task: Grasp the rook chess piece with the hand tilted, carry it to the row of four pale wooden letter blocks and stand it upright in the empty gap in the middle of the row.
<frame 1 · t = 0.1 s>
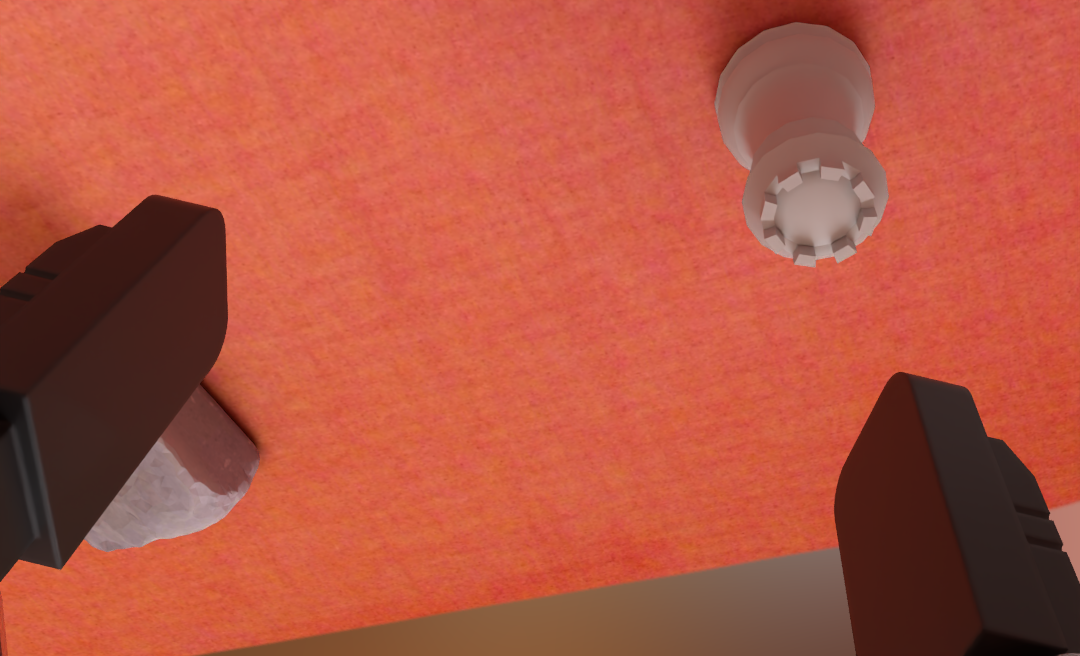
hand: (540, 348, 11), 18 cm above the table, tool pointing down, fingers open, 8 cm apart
stone block: (108, 394, 39), on the table
rook chess piece: (790, 91, 27), on the table
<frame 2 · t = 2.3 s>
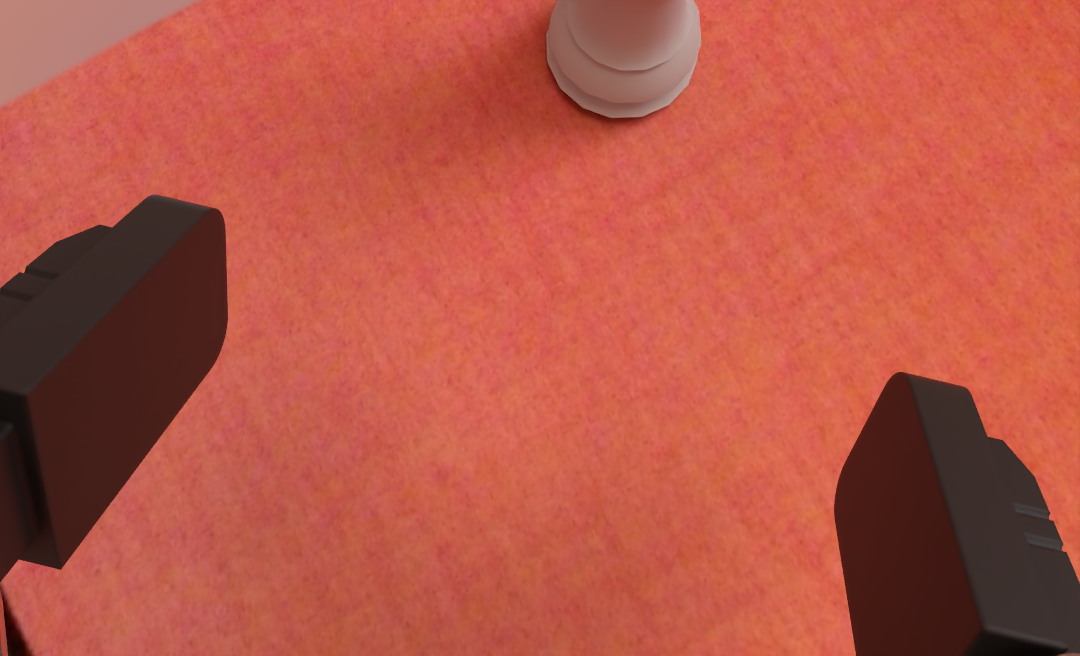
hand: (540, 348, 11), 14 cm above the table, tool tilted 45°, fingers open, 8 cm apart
rook chess piece: (619, 57, 27), on the table
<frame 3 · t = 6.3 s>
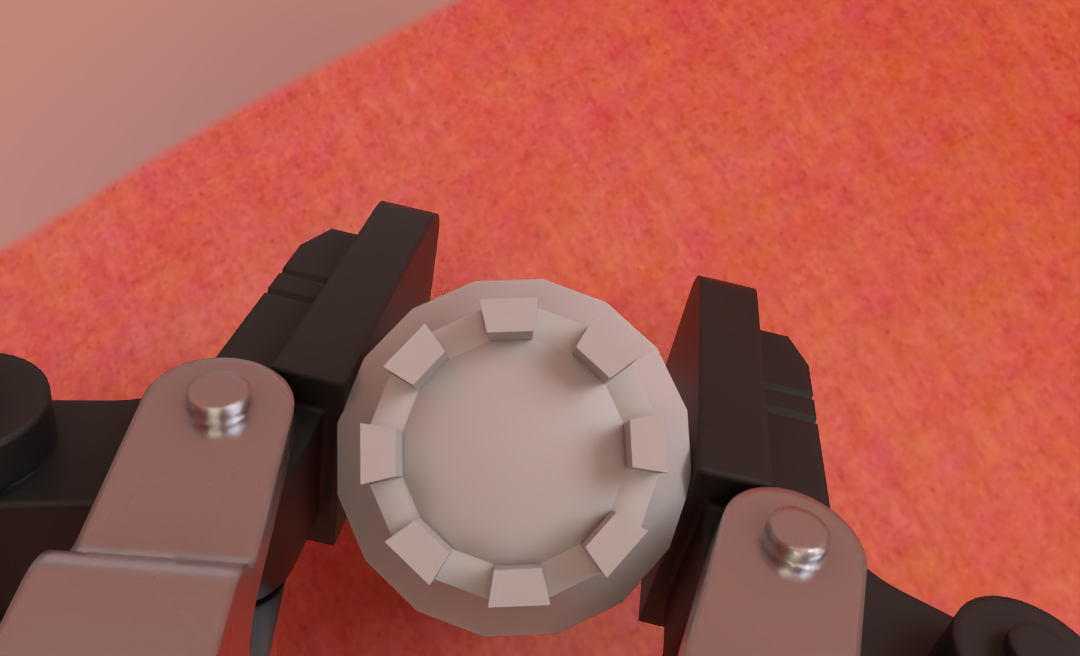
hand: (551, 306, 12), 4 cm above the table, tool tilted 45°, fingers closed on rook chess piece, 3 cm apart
rook chess piece: (516, 466, 15), on the table, touching gripper
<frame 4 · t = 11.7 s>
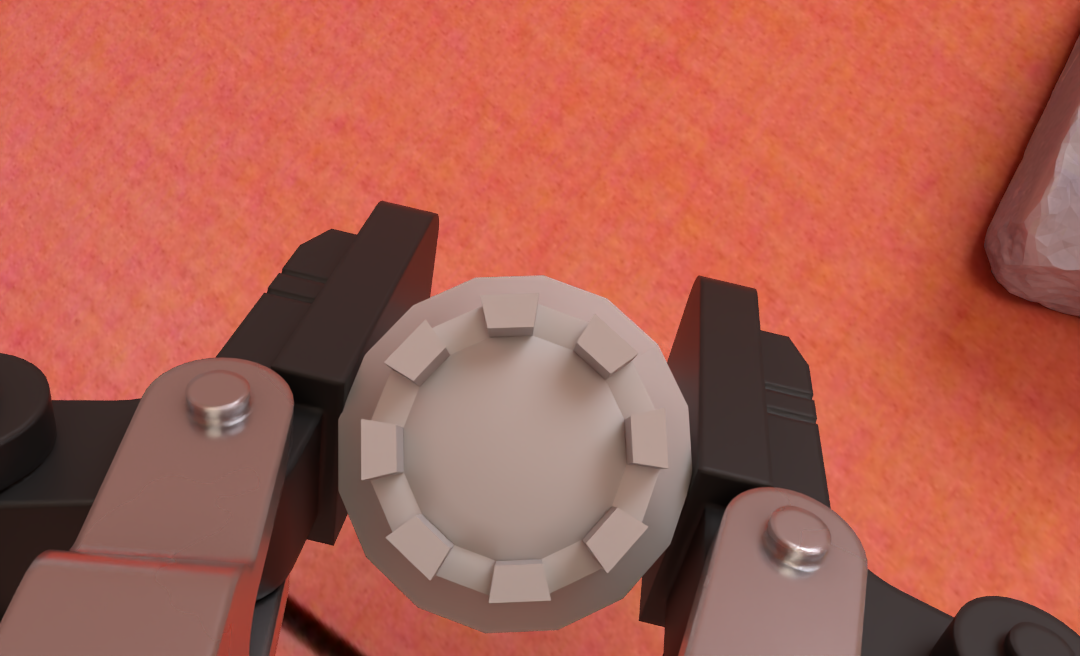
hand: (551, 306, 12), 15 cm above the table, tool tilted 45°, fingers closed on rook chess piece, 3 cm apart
rook chess piece: (518, 465, 15), point 10 cm above the table, touching gripper
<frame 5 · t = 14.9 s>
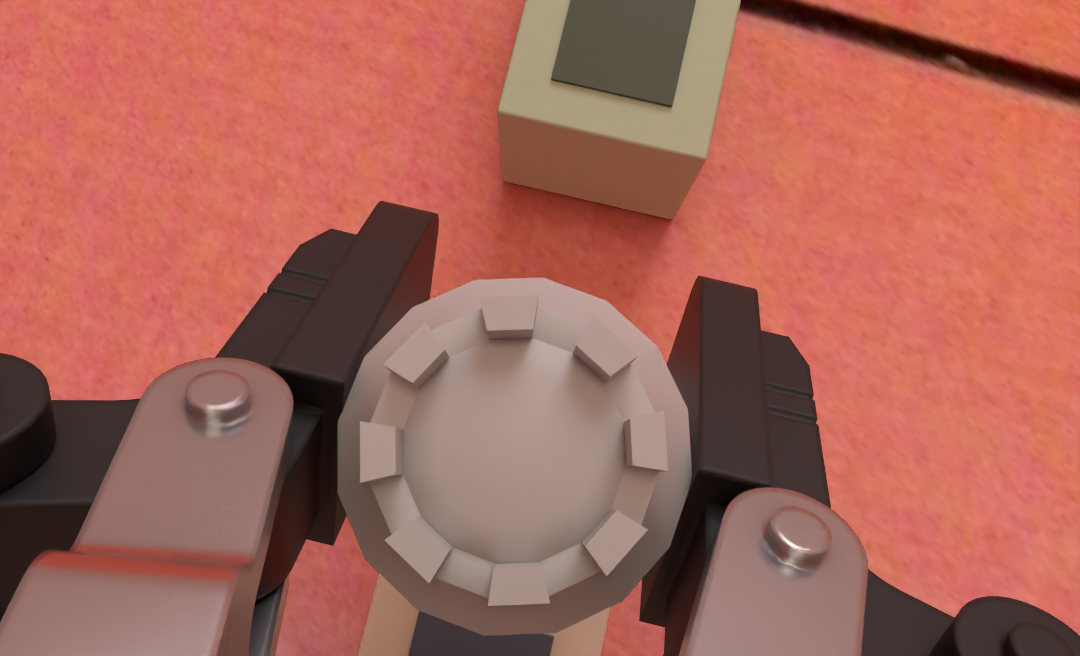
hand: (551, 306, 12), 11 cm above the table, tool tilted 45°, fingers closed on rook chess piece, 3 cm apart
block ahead: (606, 120, 24), on the table
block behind: (482, 646, 22), on the table
rook chess piece: (518, 466, 15), point 7 cm above the table, touching gripper
when the fingers open (4 cm above the table, at t = 17.2 s): rook chess piece stays where it is, on the table.
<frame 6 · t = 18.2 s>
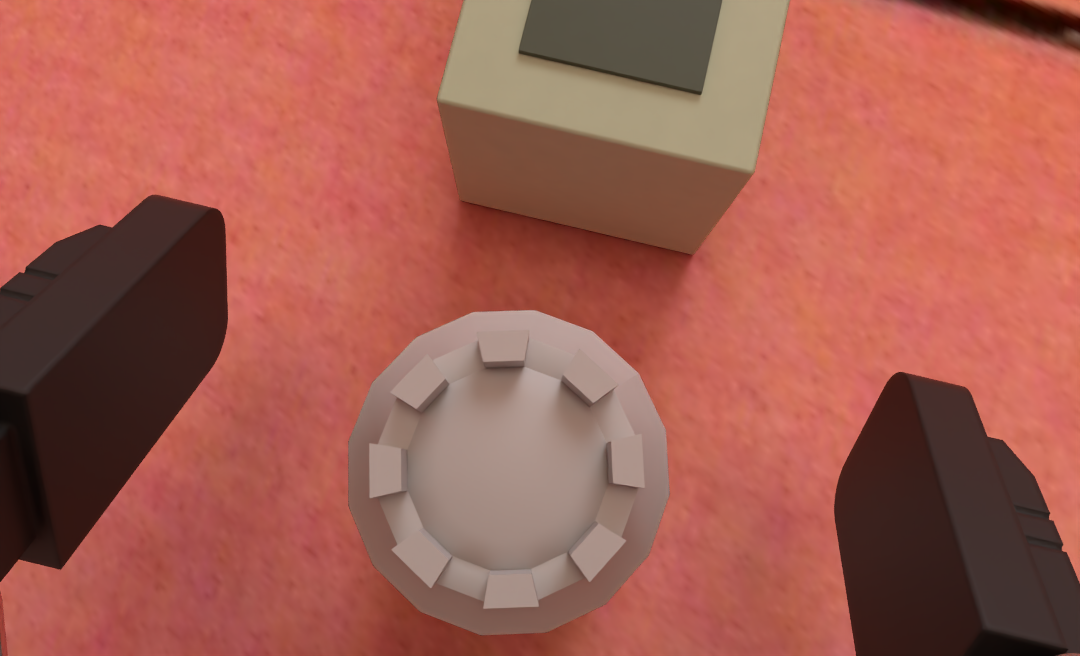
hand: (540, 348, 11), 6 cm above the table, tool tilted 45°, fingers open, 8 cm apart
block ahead: (602, 117, 17), on the table
rook chess piece: (515, 475, 16), on the table
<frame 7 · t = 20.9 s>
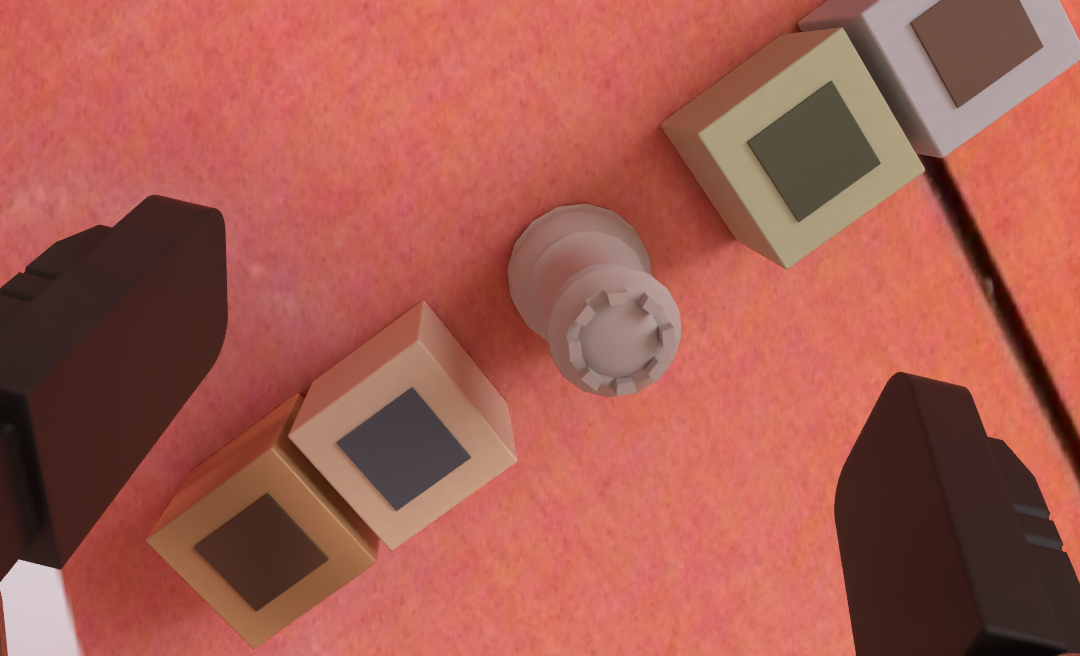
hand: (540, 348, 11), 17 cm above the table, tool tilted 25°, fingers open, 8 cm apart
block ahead: (758, 140, 28), on the table
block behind: (411, 393, 29), on the table
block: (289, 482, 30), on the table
rook chess piece: (576, 270, 29), on the table
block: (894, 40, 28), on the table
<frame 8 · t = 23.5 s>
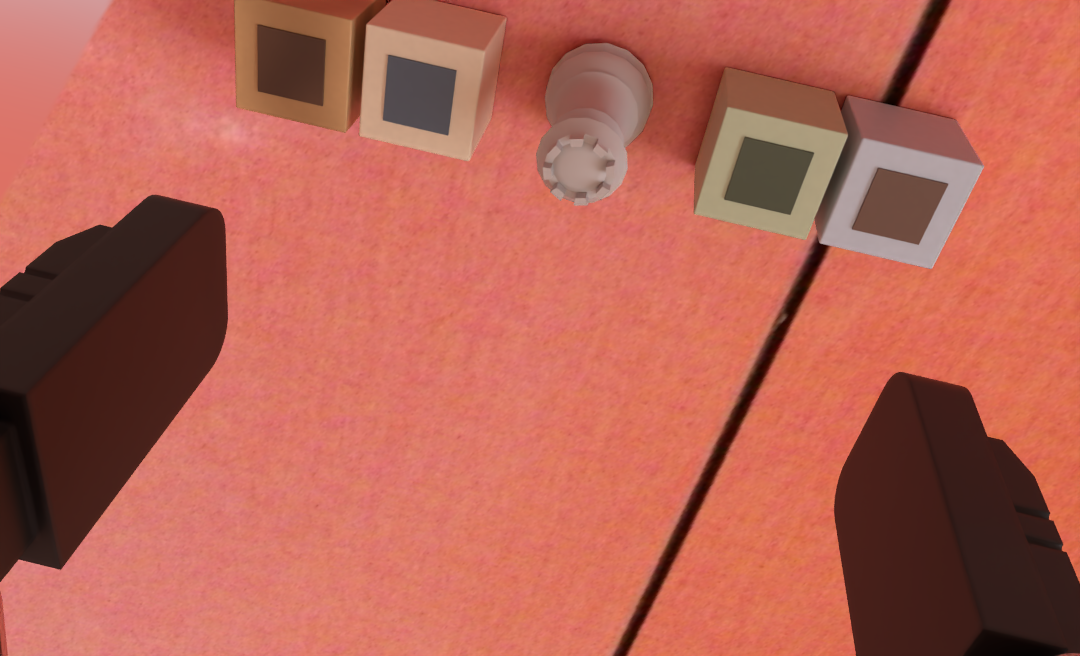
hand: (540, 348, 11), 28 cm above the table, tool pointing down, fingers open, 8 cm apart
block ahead: (762, 130, 38), on the table
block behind: (447, 57, 38), on the table
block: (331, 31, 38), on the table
rook chess piece: (600, 90, 38), on the table
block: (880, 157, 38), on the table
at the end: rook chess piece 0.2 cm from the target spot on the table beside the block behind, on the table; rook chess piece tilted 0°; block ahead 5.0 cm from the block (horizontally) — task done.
